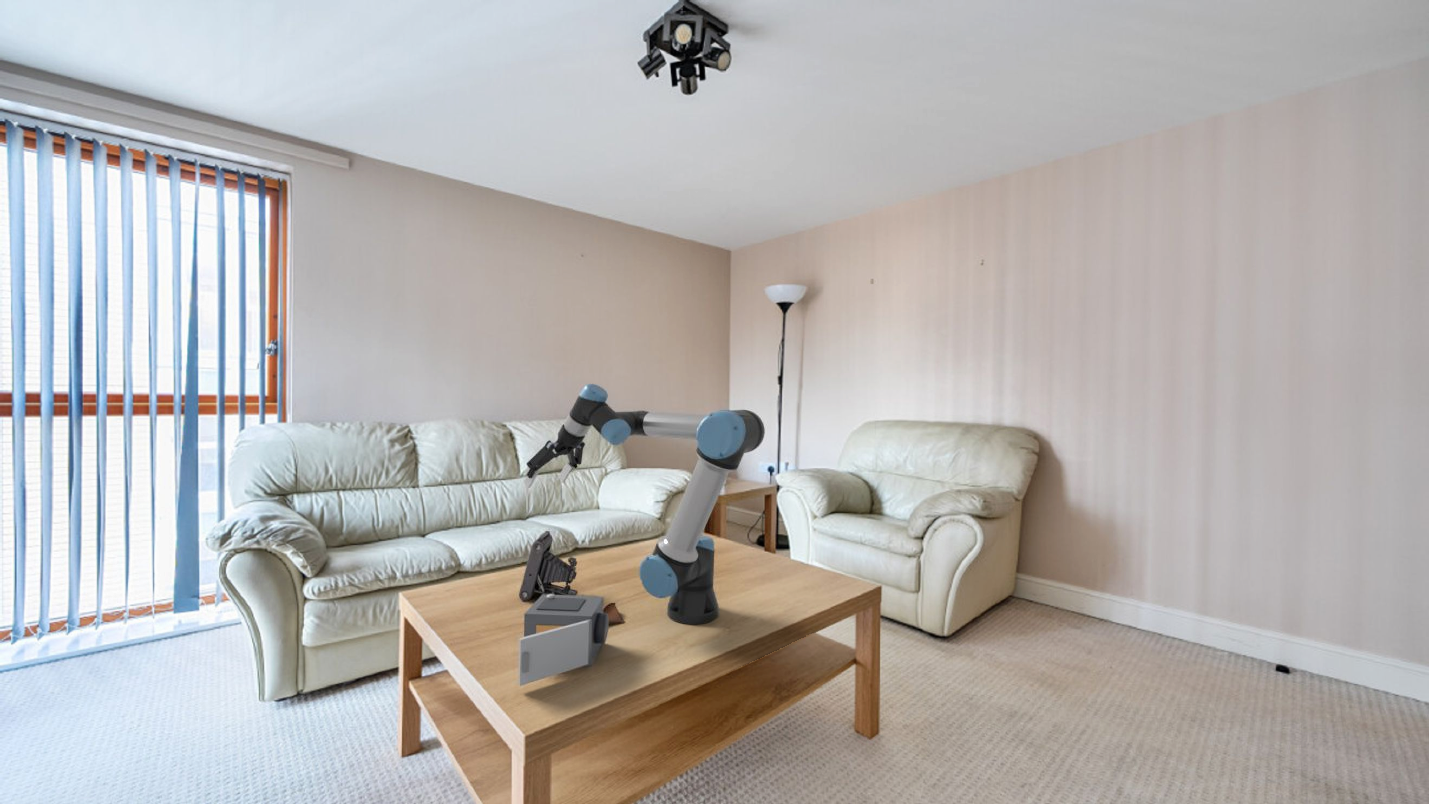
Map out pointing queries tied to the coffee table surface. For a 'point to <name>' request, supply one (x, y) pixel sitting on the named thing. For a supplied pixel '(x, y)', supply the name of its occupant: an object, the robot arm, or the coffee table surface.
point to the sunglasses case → (612, 614)
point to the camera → (546, 571)
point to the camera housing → (568, 616)
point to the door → (554, 651)
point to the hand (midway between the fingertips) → (544, 482)
